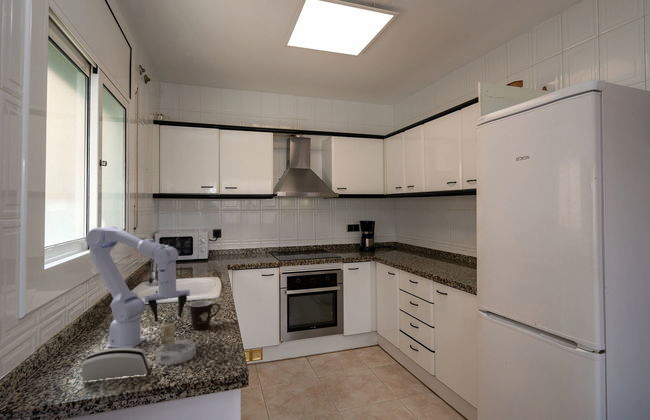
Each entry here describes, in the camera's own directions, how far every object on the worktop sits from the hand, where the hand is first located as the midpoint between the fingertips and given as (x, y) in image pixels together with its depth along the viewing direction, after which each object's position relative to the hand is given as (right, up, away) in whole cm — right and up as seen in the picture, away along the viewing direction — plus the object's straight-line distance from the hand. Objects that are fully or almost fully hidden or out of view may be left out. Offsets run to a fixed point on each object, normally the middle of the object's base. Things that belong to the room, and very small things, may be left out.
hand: (168, 318), depth 117 cm
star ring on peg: (+7, -9, -9) cm, 15 cm away
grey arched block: (-4, -10, -23) cm, 25 cm away
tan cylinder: (0, -10, 0) cm, 10 cm away
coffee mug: (+7, -10, +17) cm, 21 cm away
